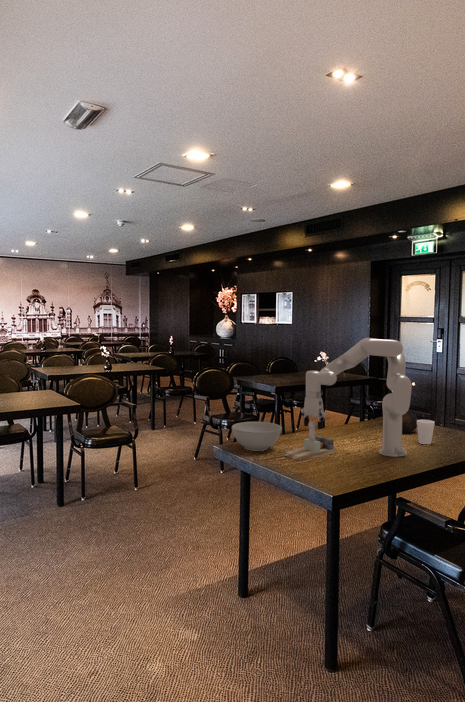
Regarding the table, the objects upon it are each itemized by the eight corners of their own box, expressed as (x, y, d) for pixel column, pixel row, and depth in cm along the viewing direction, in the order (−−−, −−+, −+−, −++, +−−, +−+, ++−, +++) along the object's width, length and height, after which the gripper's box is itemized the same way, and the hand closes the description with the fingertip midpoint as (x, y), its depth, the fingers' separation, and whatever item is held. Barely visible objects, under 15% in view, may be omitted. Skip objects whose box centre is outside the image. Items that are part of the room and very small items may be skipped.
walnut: (324, 448, 260) (324, 443, 260) (319, 449, 258) (319, 443, 258) (319, 447, 263) (319, 441, 263) (314, 448, 261) (314, 442, 261)
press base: (335, 452, 259) (335, 439, 259) (299, 460, 244) (300, 447, 243) (318, 448, 269) (318, 435, 269) (283, 455, 253) (283, 442, 253)
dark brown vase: (418, 435, 301) (420, 390, 299) (387, 433, 306) (389, 388, 304) (416, 429, 318) (418, 386, 316) (387, 427, 323) (389, 385, 321)
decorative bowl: (270, 441, 283) (271, 420, 282) (289, 453, 257) (289, 430, 256) (225, 444, 275) (225, 422, 274) (239, 457, 249) (240, 433, 249)
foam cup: (434, 446, 275) (435, 423, 274) (416, 445, 278) (417, 422, 277) (433, 442, 284) (433, 420, 283) (415, 441, 287) (416, 419, 286)
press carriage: (320, 451, 255) (321, 421, 254) (315, 452, 252) (316, 422, 251) (308, 447, 262) (308, 419, 261) (302, 448, 260) (303, 419, 259)
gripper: (330, 395, 251) (330, 429, 252) (306, 392, 265) (306, 423, 266) (320, 397, 246) (320, 431, 247) (296, 393, 260) (296, 425, 261)
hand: (313, 427), depth 256 cm, fingers open, 9 cm apart
